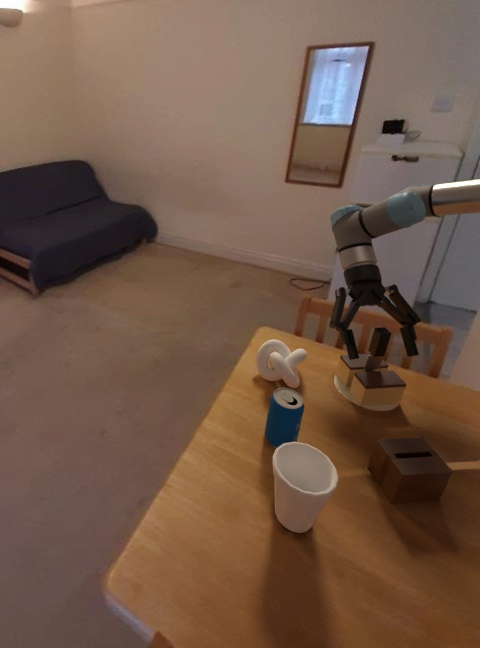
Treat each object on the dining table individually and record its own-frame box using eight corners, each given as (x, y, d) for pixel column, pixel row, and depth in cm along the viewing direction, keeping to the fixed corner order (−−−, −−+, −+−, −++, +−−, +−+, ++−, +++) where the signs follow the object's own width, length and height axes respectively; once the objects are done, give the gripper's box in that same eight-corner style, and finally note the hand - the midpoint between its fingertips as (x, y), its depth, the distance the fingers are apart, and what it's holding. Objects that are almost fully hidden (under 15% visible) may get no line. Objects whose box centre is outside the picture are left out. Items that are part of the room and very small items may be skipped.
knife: (369, 384, 99) (387, 327, 91) (375, 391, 97) (394, 333, 89) (356, 384, 99) (372, 327, 91) (361, 392, 97) (378, 334, 89)
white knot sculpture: (247, 381, 102) (251, 353, 98) (261, 355, 111) (265, 328, 107) (294, 399, 96) (300, 370, 93) (305, 369, 105) (310, 342, 102)
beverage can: (285, 458, 82) (294, 415, 77) (258, 438, 87) (264, 396, 82) (302, 440, 86) (311, 398, 81) (274, 422, 91) (282, 381, 85)
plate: (395, 380, 101) (396, 377, 100) (402, 421, 90) (403, 418, 89) (333, 365, 107) (334, 362, 106) (332, 402, 95) (333, 399, 95)
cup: (280, 479, 78) (290, 431, 73) (333, 516, 72) (348, 467, 66) (252, 514, 72) (261, 465, 67) (307, 559, 66) (322, 509, 60)
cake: (371, 371, 103) (376, 353, 100) (399, 404, 93) (406, 384, 90) (335, 373, 102) (340, 355, 100) (360, 406, 93) (366, 386, 90)
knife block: (411, 464, 80) (422, 436, 77) (439, 501, 73) (453, 472, 70) (366, 467, 80) (376, 439, 77) (390, 504, 73) (402, 475, 70)
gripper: (400, 269, 101) (425, 356, 94) (302, 274, 101) (321, 361, 94) (421, 260, 94) (450, 352, 87) (316, 265, 94) (337, 358, 87)
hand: (383, 357), depth 91 cm, fingers open, 13 cm apart
